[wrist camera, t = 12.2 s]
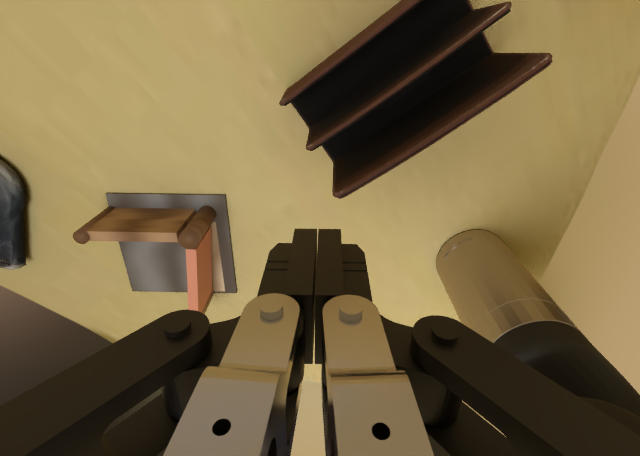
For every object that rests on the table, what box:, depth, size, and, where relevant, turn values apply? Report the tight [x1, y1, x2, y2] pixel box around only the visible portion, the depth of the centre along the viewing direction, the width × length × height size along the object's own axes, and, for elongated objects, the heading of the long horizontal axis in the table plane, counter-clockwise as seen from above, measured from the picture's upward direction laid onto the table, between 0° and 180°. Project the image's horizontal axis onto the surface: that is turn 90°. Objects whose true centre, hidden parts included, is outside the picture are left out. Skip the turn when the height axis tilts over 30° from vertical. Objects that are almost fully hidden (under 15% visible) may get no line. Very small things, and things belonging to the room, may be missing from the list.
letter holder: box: [279, 0, 552, 198], centre depth 33 cm, size 10×20×14 cm, turn 126°
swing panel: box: [186, 226, 214, 314], centre depth 47 cm, size 12×2×6 cm, turn 173°
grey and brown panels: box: [73, 193, 237, 293], centre depth 46 cm, size 16×15×8 cm
